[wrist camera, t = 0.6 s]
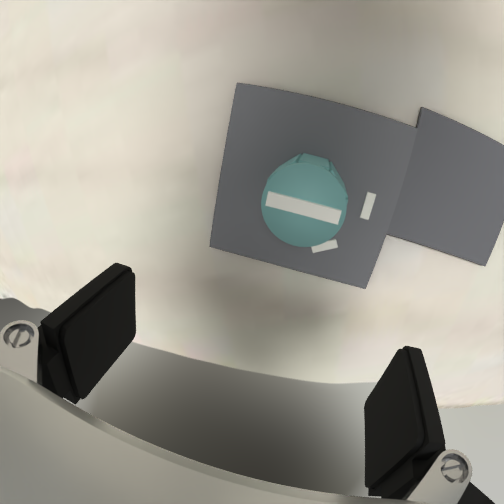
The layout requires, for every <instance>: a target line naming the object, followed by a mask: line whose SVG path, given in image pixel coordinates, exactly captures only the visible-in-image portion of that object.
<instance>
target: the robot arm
mask: <svg viewBox="0 0 504 504" xmlns="http://www.w3.org/2000/svg"><path fill="white" fill-rule="evenodd" d="M135 334H136V316H135V274H134V273H133V272H132V269H131V268H130V267H128V266H125V265H122V264H119V263H114V264H113V265H112V266H110V267H109V268H108V269H106V270H105V271H104V272H102V273H101V274H100V275H98V276H97V277H96V278H94V279H93V280H92V281H90V282H89V283H88V284H87V285H85V286H84V287H83V288H81V289H80V290H79V291H78V292H76V293H75V294H74V295H73V296H71V297H70V298H69V299H68V300H66V301H65V302H64V303H63V304H61V305H60V306H59V307H58V308H56V309H55V310H54V311H53V312H52V313H50V314H49V315H48V316H47V317H46V318H44V319H43V320H42V321H41V325H40V326H39V327H38V328H37V327H36V325H34V324H33V323H31V322H29V321H22V320H20V321H15V322H12V323H9V324H8V325H7V326H5V327H4V328H3V329H2V331H1V333H0V504H495V503H494V502H492V500H490V499H489V498H488V497H487V496H486V495H485V494H483V493H482V492H481V491H480V490H479V489H478V488H477V487H475V486H474V485H473V484H472V483H471V482H470V479H471V476H472V466H471V463H470V461H469V460H468V458H467V457H466V456H465V455H464V454H463V453H461V452H459V451H457V450H453V449H452V450H446V449H445V439H444V434H443V429H442V425H441V420H440V416H439V412H438V408H437V404H436V400H435V396H434V392H433V388H432V384H431V381H430V377H429V374H428V370H427V367H426V363H425V360H424V357H423V354H422V351H421V349H419V348H414V347H410V346H405V347H403V349H399V350H398V351H397V352H396V354H395V355H394V357H393V359H392V360H391V362H390V364H389V365H388V367H387V369H386V370H385V372H384V373H383V375H382V377H381V378H380V380H379V381H378V383H377V385H376V386H375V388H374V389H373V391H372V392H371V394H370V395H369V397H368V398H367V400H366V402H365V406H364V413H365V414H364V415H365V486H366V487H368V488H369V493H368V495H369V496H381V498H369V497H358V496H348V495H339V494H332V493H323V492H317V491H311V490H305V489H299V488H294V487H289V486H283V485H278V484H274V483H270V482H265V481H261V480H257V479H253V478H249V477H245V476H242V475H238V474H234V473H231V472H228V471H224V470H221V469H218V468H215V467H211V466H208V465H205V464H202V463H199V462H197V461H194V460H191V459H188V458H185V457H182V456H180V455H177V454H175V453H172V452H169V451H167V450H165V449H162V448H160V447H157V446H155V445H153V444H150V443H148V442H146V441H143V440H141V439H139V438H137V437H134V436H132V435H130V434H128V433H126V432H124V431H122V430H119V429H118V428H115V427H113V426H111V425H109V424H108V423H106V422H104V421H102V420H100V419H98V418H96V417H94V416H92V415H90V414H89V413H87V412H85V411H83V410H81V409H80V408H78V407H76V406H74V405H73V404H71V403H69V402H67V401H66V400H64V399H63V397H64V398H66V399H67V400H69V401H71V402H72V403H74V404H76V403H77V402H78V401H79V400H80V398H81V399H84V398H86V397H87V395H88V394H89V393H90V392H91V390H92V389H93V388H94V387H95V385H96V384H97V383H98V382H99V381H100V379H101V378H102V377H103V376H104V374H105V373H106V372H107V371H108V369H109V368H110V367H111V366H112V365H113V363H114V362H115V361H116V360H117V359H118V357H119V356H120V355H121V354H122V352H123V351H124V350H125V349H126V348H127V346H128V345H129V344H130V343H131V342H132V340H133V339H134V337H135Z"/></svg>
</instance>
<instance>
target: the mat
mask: <svg viewBox="0 0 504 504" xmlns="http://www.w3.org/2000/svg"><path fill="white" fill-rule="evenodd" d="M416 128H418V129H417V134H416V138H415V142H414V145H413V149H412V153H411V157H410V160H409V164H408V168H407V171H406V175H405V178H404V181H403V185H402V188H401V191H400V195H399V198H398V201H397V204H396V207H395V210H394V213H393V216H392V219H391V222H390V225H389V228H388V231H387V234H389V235H392V236H395V237H399V238H402V239H405V240H408V241H411V242H415V243H418V244H421V245H424V246H427V247H430V248H433V249H436V250H439V251H442V252H445V253H448V254H451V255H454V256H457V257H460V258H463V259H466V260H469V261H471V262H474V263H477V264H480V265H483V266H486V264H487V261H488V259H489V257H490V255H491V252H492V250H493V248H494V245H495V243H496V240H497V238H498V235H499V233H500V230H501V227H502V225H503V222H504V145H503V144H501V143H499V142H497V141H495V140H493V139H491V138H489V137H488V136H486V135H484V134H482V133H480V132H478V131H476V130H474V129H472V128H469V127H467V126H465V125H463V124H461V123H459V122H457V121H454V120H452V119H450V118H448V117H445V116H443V115H441V114H438V113H436V112H433V111H431V110H428V109H426V108H423V107H421V109H420V114H419V118H418V123H417V127H416Z"/></svg>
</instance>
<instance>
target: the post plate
mask: <svg viewBox="0 0 504 504" xmlns="http://www.w3.org/2000/svg"><path fill="white" fill-rule="evenodd" d="M417 129H418V128H415V127H413V126H410V125H407V124H404V123H402V122H399V121H396V120H393V119H390V118H387V117H384V116H381V115H378V114H375V113H371V112H368V111H365V110H361V109H358V108H355V107H351V106H347V105H344V104H340V103H336V102H333V101H329V100H325V99H321V98H316V97H312V96H308V95H303V94H299V93H294V92H289V91H284V90H279V89H274V88H268V87H262V86H256V85H250V84H243V83H237V84H236V90H235V95H234V100H233V105H232V111H231V116H230V122H229V127H228V133H227V138H226V144H225V150H224V156H223V162H222V168H221V174H220V180H219V186H218V192H217V199H216V205H215V212H214V219H213V225H212V232H211V239H210V246H209V247H213V248H216V249H220V250H224V251H227V252H231V253H234V254H238V255H242V256H245V257H249V258H253V259H256V260H260V261H264V262H267V263H271V264H275V265H278V266H282V267H286V268H289V269H293V270H297V271H300V272H304V273H308V274H311V275H315V276H319V277H323V278H326V279H330V280H334V281H337V282H341V283H345V284H349V285H352V286H356V287H360V288H363V289H366V286H367V284H368V281H369V279H370V276H371V274H372V271H373V269H374V266H375V264H376V261H377V258H378V256H379V253H380V250H381V248H382V245H383V242H384V239H385V237H386V234H387V231H388V228H389V225H390V222H391V219H392V216H393V213H394V210H395V207H396V204H397V201H398V198H399V195H400V191H401V188H402V185H403V181H404V178H405V175H406V171H407V168H408V164H409V160H410V157H411V153H412V149H413V145H414V142H415V138H416V134H417ZM300 153H301V155H303V153H306V154H310V155H314V156H318V157H322V158H325V159H329V162H332V163H333V165H334V167H335V168H336V170H337V172H338V174H339V175H340V177H341V179H342V180H343V182H344V185H345V188H346V191H347V195H348V203H347V210H346V216H345V220H344V222H343V225H342V226H341V228H340V230H339V231H338V232H337V233H336V234H335V235H334V236H333V237H332V238H331V239H330V240H328V241H326V242H325V243H322V244H320V245H317V246H312V247H298V246H293V245H290V244H288V243H286V242H284V241H282V240H280V239H279V238H278V237H276V236H275V235H274V234H273V233H272V232H271V230H270V229H269V228H268V226H267V224H266V223H265V220H264V218H263V215H262V209H261V200H262V194H263V191H264V189H265V186H266V184H267V179H268V178H269V177H270V175H271V174H272V173H273V172H274V171H275V170H276V169H277V168H278V167H279V166H280V165H282V164H284V163H285V162H287V161H289V160H290V159H292V158H294V157H295V156H297V155H299V154H300Z"/></svg>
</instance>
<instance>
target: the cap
mask: <svg viewBox="0 0 504 504" xmlns="http://www.w3.org/2000/svg"><path fill="white" fill-rule="evenodd" d="M347 203H348V195H347V191H346V188H345V185H344V182H343V180H342V179H341V177H340V175H339V174H338V172H337V170H336V168H335V167H334V165H333V163H332V162H329V159H325V158H322V157H318V156H314V155H310V154H306V153H303V155H301V153H300V154H299V155H297V156H295V157H294V158H292V159H290V160H289V161H287V162H285V163H284V164H282V165H280V166H279V167H278V168H277V169H276V170H275V171H274V172H273V173H272V174H271V175H270V177H269V178H268V179H267V184H266V186H265V189H264V191H263V194H262V200H261V209H262V215H263V218H264V220H265V223H266V224H267V226H268V228H269V229H270V230H271V232H272V233H273V234H274V235H275V236H276V237H278V238H279V239H280V240H282V241H284V242H286V243H288V244H290V245H293V246H298V247H312V246H317V245H320V244H322V243H325V242H326V241H328V240H330V239H331V238H332V237H333V236H334V235H335V234H336V233H337V232H338V231H339V230H340V228H341V226H342V225H343V222H344V220H345V216H346V210H347Z"/></svg>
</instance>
